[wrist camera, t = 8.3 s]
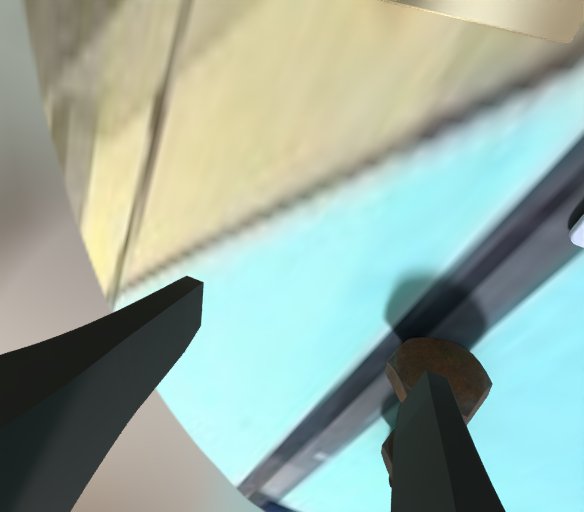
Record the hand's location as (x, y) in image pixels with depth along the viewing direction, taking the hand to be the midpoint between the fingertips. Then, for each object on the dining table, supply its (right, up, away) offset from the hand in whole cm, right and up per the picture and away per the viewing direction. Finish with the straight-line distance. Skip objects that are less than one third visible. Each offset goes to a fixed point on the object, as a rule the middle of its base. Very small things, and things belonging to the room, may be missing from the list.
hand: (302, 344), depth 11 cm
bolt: (+10, -9, +15) cm, 20 cm away
